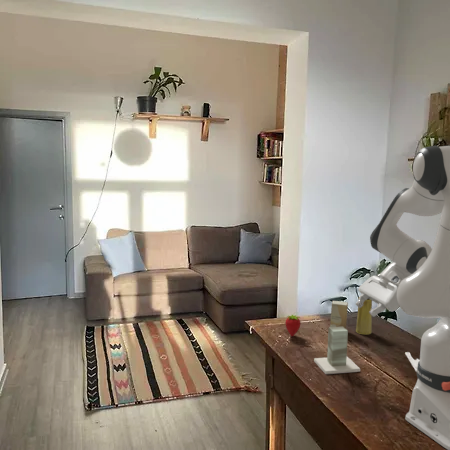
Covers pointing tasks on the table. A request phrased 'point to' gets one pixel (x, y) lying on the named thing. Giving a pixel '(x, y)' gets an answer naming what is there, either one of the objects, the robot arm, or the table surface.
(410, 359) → the butcher knife
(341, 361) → the handle block
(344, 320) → the skincare box
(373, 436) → the table surface
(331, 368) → the ceramic tile
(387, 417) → the table surface
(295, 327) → the strawberry
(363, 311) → the vase
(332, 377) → the table surface
